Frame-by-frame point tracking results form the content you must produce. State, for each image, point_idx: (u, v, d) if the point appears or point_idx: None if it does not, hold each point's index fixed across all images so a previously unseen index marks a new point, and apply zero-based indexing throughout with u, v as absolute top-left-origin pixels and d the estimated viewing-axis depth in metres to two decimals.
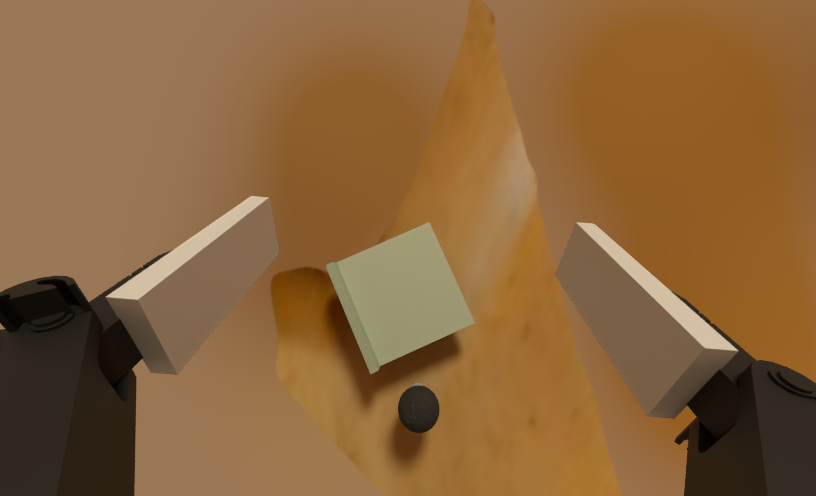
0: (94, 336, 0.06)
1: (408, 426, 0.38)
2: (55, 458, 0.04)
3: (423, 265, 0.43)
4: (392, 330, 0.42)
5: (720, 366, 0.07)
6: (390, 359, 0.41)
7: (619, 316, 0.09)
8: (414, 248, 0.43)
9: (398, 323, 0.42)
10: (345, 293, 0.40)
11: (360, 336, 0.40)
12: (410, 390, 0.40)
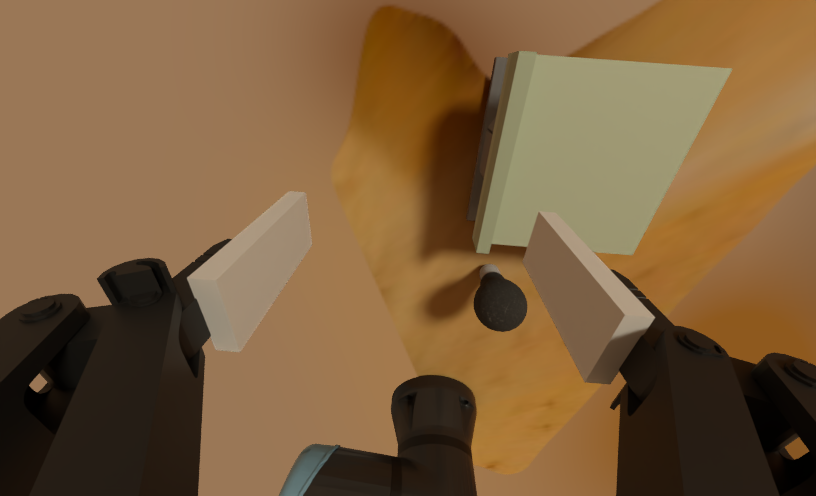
0: (177, 316, 0.07)
1: (485, 321, 0.31)
2: (145, 426, 0.05)
3: (648, 143, 0.24)
4: (530, 211, 0.28)
5: (642, 332, 0.08)
6: (502, 242, 0.29)
7: (567, 294, 0.10)
8: (663, 106, 0.23)
9: (544, 207, 0.27)
10: (517, 126, 0.22)
11: (495, 203, 0.25)
12: (505, 287, 0.30)
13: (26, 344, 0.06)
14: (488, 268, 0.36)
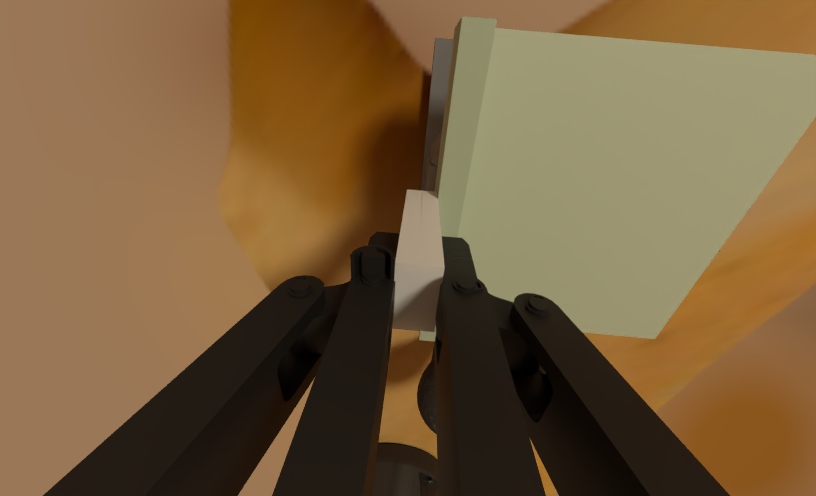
0: (391, 303, 0.08)
1: (429, 426, 0.21)
2: (371, 403, 0.05)
3: (692, 184, 0.14)
4: (502, 279, 0.18)
5: (440, 281, 0.09)
6: None
7: None
8: (724, 123, 0.13)
9: (523, 273, 0.18)
10: (468, 157, 0.12)
11: None
12: None
13: (289, 319, 0.07)
14: None
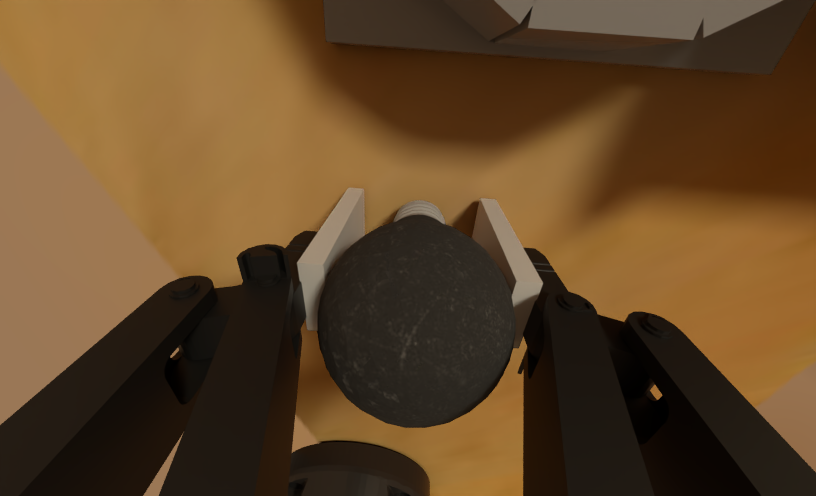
0: (290, 300, 0.08)
1: (339, 386, 0.07)
2: (265, 400, 0.05)
3: None
4: None
5: (535, 297, 0.09)
6: None
7: None
8: None
9: None
10: None
11: None
12: (421, 240, 0.07)
13: (172, 319, 0.06)
14: (410, 208, 0.13)
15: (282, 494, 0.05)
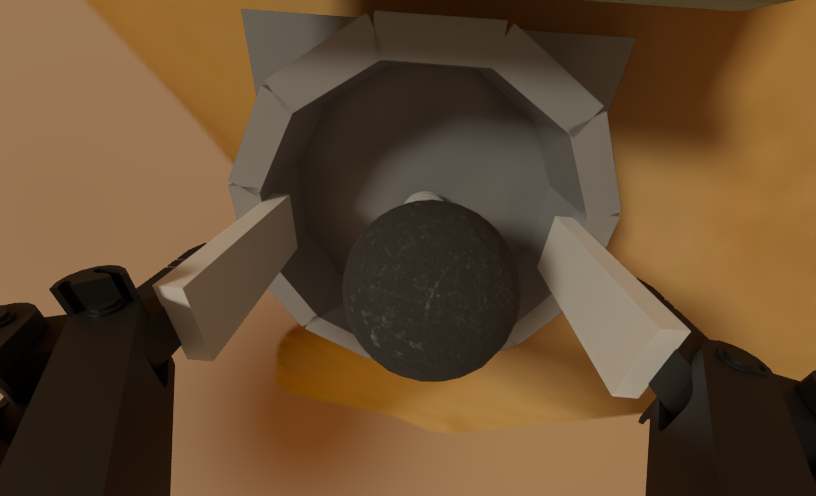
0: (141, 324, 0.07)
1: (364, 345, 0.08)
2: (106, 439, 0.04)
3: None
4: None
5: (676, 346, 0.07)
6: None
7: (590, 304, 0.10)
8: None
9: None
10: None
11: None
12: (438, 213, 0.08)
13: None
14: (417, 198, 0.14)
15: None
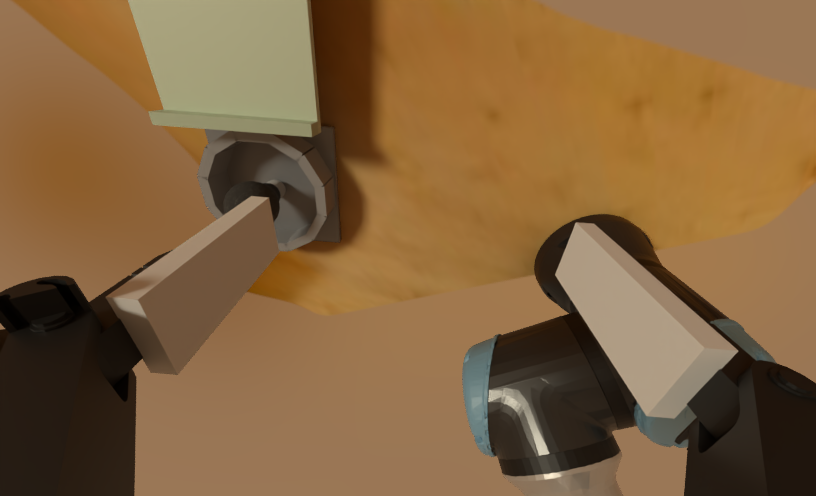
0: (94, 336, 0.06)
1: None
2: (55, 458, 0.04)
3: None
4: (275, 78, 0.28)
5: (720, 366, 0.07)
6: (313, 103, 0.29)
7: (619, 316, 0.09)
8: None
9: (267, 64, 0.28)
10: (196, 116, 0.29)
11: (259, 125, 0.29)
12: (245, 183, 0.32)
13: None
14: (268, 182, 0.37)
15: None
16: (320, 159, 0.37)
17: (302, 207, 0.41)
